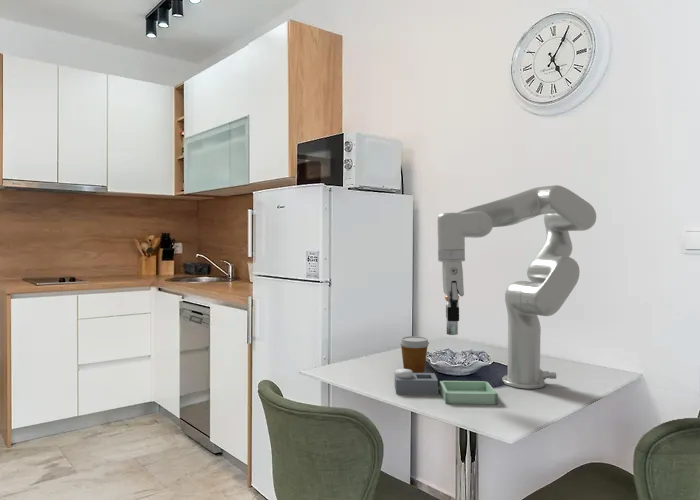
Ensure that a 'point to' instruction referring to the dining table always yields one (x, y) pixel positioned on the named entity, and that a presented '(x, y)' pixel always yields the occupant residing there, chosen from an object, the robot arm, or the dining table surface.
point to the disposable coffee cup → (414, 353)
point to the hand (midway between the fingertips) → (452, 319)
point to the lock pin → (451, 325)
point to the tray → (468, 392)
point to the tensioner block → (415, 382)
